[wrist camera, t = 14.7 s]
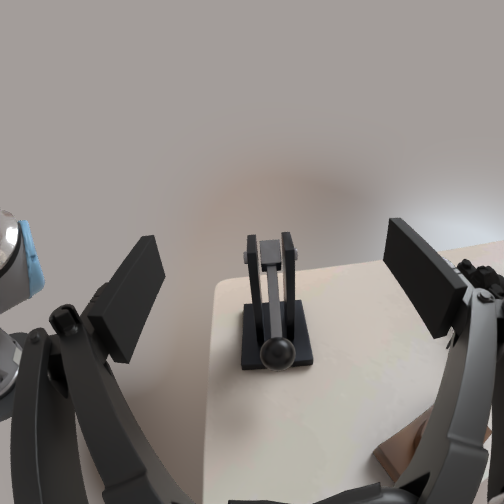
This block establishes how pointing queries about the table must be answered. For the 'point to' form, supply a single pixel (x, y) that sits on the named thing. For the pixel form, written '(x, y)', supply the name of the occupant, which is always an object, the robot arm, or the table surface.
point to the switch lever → (274, 312)
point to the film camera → (483, 278)
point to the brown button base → (405, 446)
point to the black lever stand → (259, 313)
